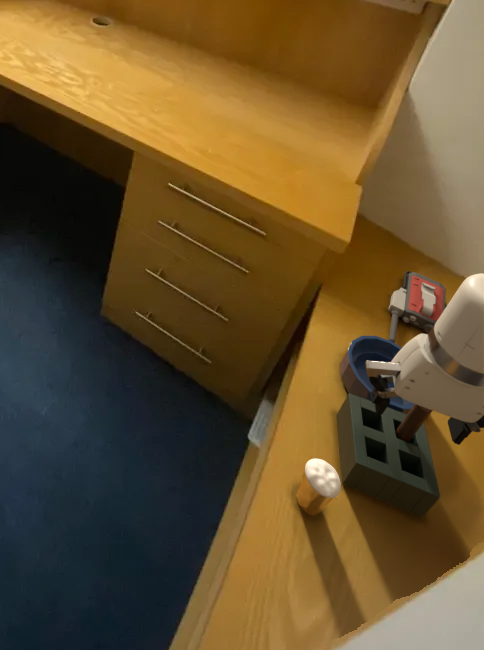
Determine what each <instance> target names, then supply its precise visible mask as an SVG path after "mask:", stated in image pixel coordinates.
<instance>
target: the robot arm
mask: <svg viewBox="0 0 484 650" xmlns="http://www.w3.org/2000/svg"><path fill="white" fill-rule="evenodd" d="M401 348H402V349H401V350H400V351H399V352H398V353H397V354H396V356H395V357H394V358H393V360H392V361H391V362H379V361H365V366H366V371H367V374H368V377H369V380H370V383H371V384H372V385H373V386H374V389H373V391H372V392H371V402H372V403H374V404H375V410H376V414H379V415H381V414H383V413H384V411H385V410H386V408H387V407H388V405H389V404H390V398H393V397H401V398H403V399H404V400H407V401H409V402H411V403H414V404H417V405H419V406H422V407H425V408H427V409H430V410H433V411H432V412H436V413H438V414H442V415H444V416H447V417H449V418H448V419H447V426H448V429H449V434H450V437H451V441H452V442H453V443H454V445H455V444H456V445H458V446H460V445H461V444H462V443H463V442H464V440H465V439H466V438H468V437H469V436H470V435H471V434H472V432H473V433H481V432H482V431H481V429H484V273H475V274H471V275H469V276H468V277H466V278H464V280H463V281H462V283H461V284H460V285H459V287H458V288H457V290H456V292H455V293H454V294H453V296H452V298H451V299H450V301H449V302H448V303H447V304H446V306H445V310H444V311H443V313H442V314H441V316H440V317H439V319H438V320H437V322H436V323H435V325H434V326H433V328H432V329H431V331H430V333H429V334H428V333H419V334H417V335H415V336H414V337H413V338H412V339H411V338H410V340H409V341H407V342H406V343H405V344H404V345H403V346H402V347H401ZM392 382H393V383H394V388H388V384H387V383H392Z"/></svg>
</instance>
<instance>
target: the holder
mask: <svg viewBox="0 0 484 650" xmlns="http://www.w3.org/2000/svg"><path fill="white" fill-rule="evenodd" d="M406 415H407V414H404V413H401V412H399V411H396V410H393V409H391V408H388V407H387V408H386V410H385V411H384V413H383V414H381V415H379V414H376V410H375V404H374V403H372V402H371V401H369V400H366V399H364V398H361V397H358V396H355V395H353V394H350V393H348V394H347V396H346V398H345V399H344V401H343V403H342V404H341V406H340V408H339V409H338V412H337V413H336V425H337V427H336V428H337V436H338V437H337V439H338V449H339V461H340V463H339V464H340V473H341V485H344V486H347V487H348V488H351V489H353V490H355V491H358V492H360V493H362V494H365V495H368V496H370V497H371V498H374V499H377V500H379V501H381V502H384V503H386V504H389V505H391V506H394V507H395V508H398V509H400V510H402V511H405V512H407V513H409V514H412V515H414V516H416V517H419V518H423V517H424V516H425V515H426V514H427V513H428V512H429V511H430V510H431V508H433V506H434V505H435V504H436V503H437V502H438V501H439V499H440V498H441V493H440V489H439V483H438V479H437V475H436V470H435V466H434V462H433V456H432V452H431V447H430V443H429V442H430V441H429V438H428V434H427V428H426V424H425V422H424V423H423V424H422V426H421V427H420V428H419V430H418V431H417V432H416V434H415V435H414V436H413V438H412V439H411V440H410V442H409V443H408V442H405V441H402V440H400V439H397V438H396V433H395V431H396V430H397V428H398V427H399V425H400V424H401V423H402V421H403V420H404V418H405V417H406Z"/></svg>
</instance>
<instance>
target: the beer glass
mask: <svg viewBox="0 0 484 650" xmlns="http://www.w3.org/2000/svg"><path fill="white" fill-rule="evenodd" d="M341 491H342V481H341V479H340V476H339V473H338V472H337V471H336V469H335V467H334V466H332V465H331V464H330V463H328V462H327V461H326V460H325V459H321V458H310V459H309V460H308V461H307V462H306V463H305V467H304V470H303V473H302V477H301V481H300V483H299V486H298V489H297V492H296V494H295V496H296V500H297V504H298V506H299V507H300V508H301V509H302V511H303V512H305V513H306V514H309V515H311V516H314V515H318V514H319V513H321V512H322V511H323V510H324V509H325V508H326V507H327V505H329V504H330V503H331V502H332V501H333V500H337V499H338V498H337V497H338V496H339V495H340V493H341Z"/></svg>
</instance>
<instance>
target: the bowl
mask: <svg viewBox="0 0 484 650" xmlns="http://www.w3.org/2000/svg"><path fill="white" fill-rule="evenodd" d="M402 348H403V347H402V346H400V345H398V344H397V343H396V342H395V343H393V342H392V341H390V340H389V339H387V338H383V337H381V336H379V335H378V336H377V335H360V336H359V337H357V338H355V339H353V340H351V342H350V343H349V346H348V348H347V350H346V351H345V353H344V355H343V357H342V360H341V362H340V364H339V370H340V379H341V381H342V383H343V385H344V387H345V389H346V391H347V393H348V394H349V393H350V394H353V395H355V396H358V397H361V398H364V399H366V400H369V401H371V392H372V391H373V389H374V386H373V385H372V384H371V383H370V380H369V377H368V374H367V371H366V366H365V361H379V362H391V361H392V360H393V358H394V357H395V356H396V354H397V353H398V352H399V351H400V350H401V349H402ZM387 384H388V388H394V383H393V382H392V383H387ZM413 405H414V403H411V402H409V401H407V400H404V399H403V398H401V397H393V398H390V404H389V405H388V408H391V409H393V410H396V411H399V412H401V413H404V414H408V413H409V411H410V410H411V408H412V407H413Z"/></svg>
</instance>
